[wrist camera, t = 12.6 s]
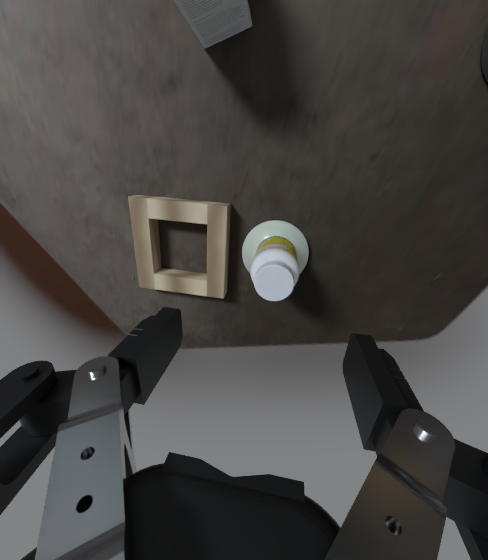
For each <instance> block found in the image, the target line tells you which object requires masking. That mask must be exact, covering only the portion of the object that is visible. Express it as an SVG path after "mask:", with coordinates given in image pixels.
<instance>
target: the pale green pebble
mask: <svg viewBox="0 0 488 560" xmlns="http://www.w3.org/2000/svg"><path fill="white" fill-rule="evenodd" d="M271 236H282V237H284V238H286V239H288V240H289V241H290V242H291V243H292V244H293V245H294V247H295V250H296V254H297V259H298V265H299V274H300V273H301V272H302V271H303V269H304V268H305V266H306V264H307V261H308V255H309V250H308V244H307V241H306V239H305V237H304V235H303V233H302V232H301V231H300V230H299V229H298V228H297V227H296V226H294V225H293V224H291V223H289V222H286V221H282V220H269V221H265V222H263V223H260V224H259V225H257V226H256V227H254V228H253V229H252V230H251V231H250V232H249V234H248V235H247V237H246V239H245V241H244V244H243V248H242V258H243V262H244V264H245V267H246V268H247V270H248V271H249V273H250V274H251V265H252V262H253V259H254V256H255V253H256V250H257V248H258V246H259V244H260V243H261V242H262V241H263V240H264V239H266V238H268V237H271Z"/></svg>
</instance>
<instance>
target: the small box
mask: <svg viewBox="0 0 488 560" xmlns="http://www.w3.org/2000/svg"><path fill="white" fill-rule="evenodd" d="M173 2H174V3H175V5H176V6H177V8H178V9H179V11H180V12H181V14H182V15H183V17H184V18H185V20H186V21H187V23H188V25H189V26H190V28H191V29H192V31H193V32H194V34H195V35H196V37H197V38H198V40H199V42H200V43H201V45H202V46H203V48H204V49H206V48H208V47H210V46H212V45H214V44H216V43H218V42H221V41H223V40H225V39H227V38H229V37H231V36H233V35H235V34H237V33H239V32H242V31H244V30H246V29H248V28H250V27H252V20H251V14H250V10H249V5H248V0H173Z"/></svg>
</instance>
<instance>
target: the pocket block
mask: <svg viewBox="0 0 488 560" xmlns="http://www.w3.org/2000/svg"><path fill="white" fill-rule="evenodd" d="M128 199H129V207H130V215H131V223H132V231H133V239H134V247H135V255H136V263H137V271H138V279H139V287H143V288H150V289H157V290H164V291H171V292H179V293H186V294H193V295H200V296H208V297H215V298H222V299H224V297H225V295H226V292H227V284H228V263H229V241H230V219H231V204H230V203H219V202H208V201H198V200H187V199H176V198H165V197H155V196H144V195H136V196H129V197H128ZM158 219H161V220H170V221H180V222H189V223H199V224H207V274H206V273H198V272H190V271H182V270H175V269H167V268H162V266H161V253H160V241H159V228H158Z"/></svg>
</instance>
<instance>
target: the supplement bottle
mask: <svg viewBox="0 0 488 560" xmlns="http://www.w3.org/2000/svg"><path fill="white" fill-rule="evenodd" d="M298 278H299V265H298V259H297V254H296V250H295V247H294V245H293V244H292V243H291V242H290V241H289V240H288V239H286V238H284V237H282V236H271V237H268V238H266V239H264V240H263V241H262V242H261V243H260V244H259V246H258V248H257V250H256V253H255V256H254V259H253V262H252V265H251V279H252V281H253V283H254V286H255V289H256V291H257V293H258V294H259V295H260V296H261V297H262V298H264V299H266V300H269V301H280V300H283V299H285V298H286V297H288V296H289V295H290V294H291V292H292V290H293V288H294V286H295V284H296V283H297V281H298Z"/></svg>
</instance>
